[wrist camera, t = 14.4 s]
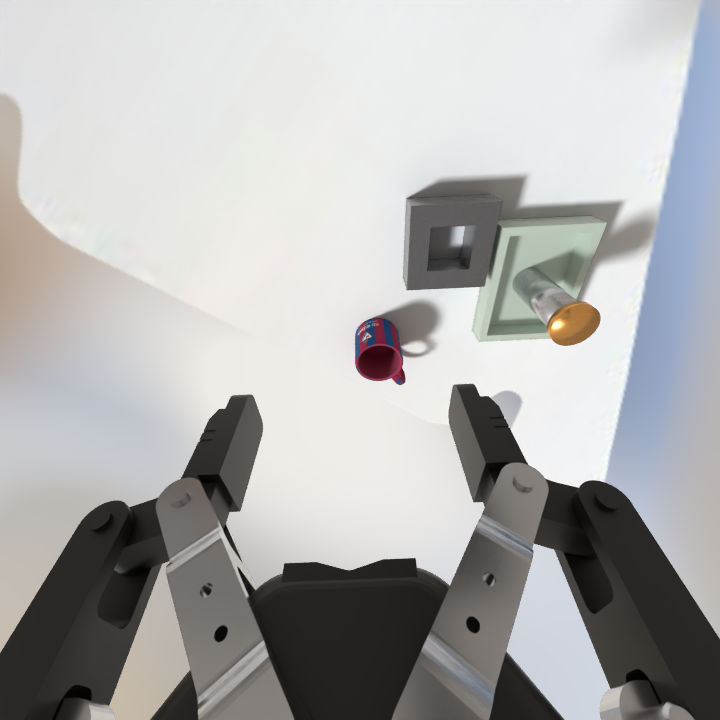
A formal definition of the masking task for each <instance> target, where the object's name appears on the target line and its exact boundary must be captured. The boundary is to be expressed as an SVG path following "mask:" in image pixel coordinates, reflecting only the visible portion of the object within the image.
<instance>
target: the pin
mask: <svg viewBox="0 0 720 720" xmlns="http://www.w3.org/2000/svg"><path fill="white" fill-rule="evenodd" d="M512 287H513V290H514V291H515V292H516V294H517V295H518V296H519V297H520V298H521V299H522V300H523V301H524V302H525V303H526V304H527V305H528V307H529V308H530V309H531V310H532V311H533V312H534V313H535V314H536V315H537V316H538V317H539V318H540V320H541V321H542V322H543V323H544V324H545V325H546V326H547V327H546V330H547V333H548V335H549V337H550V338H551V339H552V340H553V341H554V342H555V343H557V344H559V345H563V346H569V345H574V344H577V343H580V342H582V341H584V340H586V339H587V338H588V337H590V336H591V335H592V334H593V333H594V332H595V331H596V329H597V328H598V326H599V323H600V313H599V312H598V310H597V309H595V308H594V307H593V306H592V305H590V304H589V303H587V302H582V301H577V300H576V299H575V298H573V297H572V296H571V295H570V294H568V293H567V292H566V291H565V290H564V289H562V288H561V287H560V286H559V285H558V284H556V283H555V282H554V281H553V280H551V279H550V278H549V277H548V276H547V275H545V274H544V273H543V272H542V271H540V270H539V269H538V268H535V267H529V268H525V269H523V270H522V271H520V272H519V273H518V274H517V275H516V276H515V278H514V280H513V283H512Z"/></svg>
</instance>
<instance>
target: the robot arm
mask: <svg viewBox="0 0 720 720" xmlns="http://www.w3.org/2000/svg"><path fill="white" fill-rule="evenodd" d="M449 424H450V428H451V431H452V434H453V437H454V441H455V444H456V447H457V450H458V454H459V457H460V460H461V463H462V467H463V470H464V473H465V476H466V480H467V483H468V486H469V489H470V493H471V496H472V499H473V502H483V503H484V506H485V509H484V511H483V513H482V516H481V518H480V520H479V521H478V523H477V525H476V528H475V530H474V532H473V534H472V537H471V540H470V541H469V544H468V546H467V548H466V551H465V553H464V555H463V557H462V560H461V562H460V564H459V567H458V569H457V571H456V573H455V576H454V578H453V580H452V583H451V585H450V586H449V585H448V584H447V583H446V582H445V581H443V580H442V579H441V578H439V577H438V576H436V575H434V574H432V573H430V572H428V571H426V570H423V569H420V568H417V567H416V559H415V558H410V559H384V560H380V561H377V562H374V563H371V564H369V565H366V566H363V567H360V568H357V569H354V570H344V569H340V568H336V567H332V566H329V565H325V564H321V563H317V562H310V563H285V564H284V569H283V574H280V575H277V576H275V577H273V578H271V579H270V580H268V581H267V582H265V583H264V584H263V585H261V586H260V587H259V588H257V586H256V584H255V582H254V580H253V578H252V577H251V575H250V573H249V571H248V569H247V567H246V565H245V563H244V561H243V558H242V556H241V554H240V552H239V549H238V547H237V545H236V543H235V540H234V538H233V536H232V534H231V531H230V529H229V527H228V525H227V523H226V521H227V518H228V515H229V512H237V511H240V510H241V507H242V503H243V499H244V496H245V493H246V489H247V486H248V482H249V479H250V475H251V472H252V468H253V465H254V461H255V457H256V454H257V451H258V447H259V444H260V440H261V437H262V432H263V423H262V419H261V416H260V413H259V410H258V408H257V405H256V402H255V399H254V397H253V395H234V396H231V398H230V400H229V402H228V404H227V407H226V409H219V410H218V411H217V412H216V413H215V414H214V415H213V416H212V417H211V418H210V419H209V421H208V423H207V425H206V427H205V430H204V433H203V434H202V436H201V438H200V442H198V444H197V446H196V449H195V451H194V453H193V455H192V457H191V459H190V461H189V463H188V465H187V467H186V469H185V471H184V474H183V476H182V477H181V479H180V480H177V481H175V482H173V483H172V484H170V485H169V486H168V487H167V488H166V489H165V490H164V491H163V492H162V493H161V494H160V496H159V497H158V498H156V499H153V500H150V501H147V502H144V503H141V504H138V505H135V506H132V507H128V506H127V505H126V504H125V503H124V502H122V501H110V502H107V503H104V504H102V505H100V506H98V507H97V508H95V509H94V510H92V511H91V512H90V513H89V514H88V515H87V516H86V517H85V518H84V519H83V520H82V521H81V523H80V524H79V526H78V527H77V529H76V530H75V532H74V534H73V535H72V537H71V539H70V540H69V542H68V544H67V545H66V547H65V548H64V550H63V552H62V554H61V555H60V557H59V558H58V560H57V562H56V563H55V565H54V566H53V568H52V570H51V571H50V573H49V575H48V576H47V578H46V580H45V581H44V583H43V584H42V586H41V588H40V589H39V591H38V592H37V594H36V596H35V597H34V599H33V601H32V602H31V604H30V606H29V607H28V609H27V611H26V612H25V614H24V615H23V617H22V619H21V620H20V622H19V623H18V625H17V627H16V629H15V630H14V632H13V633H12V635H11V636H10V638H9V640H8V641H7V643H6V645H5V646H4V648H3V649H2V651H1V653H0V720H115V715H114V712H113V710H112V709H111V708H110V707H109V704H110V702H111V699H112V696H113V694H114V691H115V688H116V686H117V683H118V680H119V678H120V675H121V672H122V669H123V667H124V664H125V662H126V659H127V656H128V654H129V651H130V648H131V646H132V643H133V640H134V638H135V635H136V632H137V629H138V627H139V624H140V622H141V619H142V616H143V613H144V611H145V608H146V606H147V603H148V600H149V598H150V595H151V592H152V590H153V587H154V584H155V581H156V579H157V576H158V573H159V571H160V568H161V565H162V563H165V562H168V561H170V564H168V565H167V566H166V575H167V579H168V583H169V587H170V591H171V595H172V599H173V603H174V607H175V611H176V615H177V618H178V622H179V626H180V630H181V634H182V638H183V642H184V646H185V650H186V654H187V658H188V662H189V665H190V671H189V672H188V673H187V674H186V676H185V677H184V678H183V679H182V681H181V682H180V683H179V684H178V686H177V687H176V688H175V689H174V691H173V692H172V693H171V695H170V696H169V697H168V698H167V699H166V701H165V702H164V703H163V705H162V706H161V707H160V708H159V709H158V711H157V712H156V713H155V714H154V716H153V717H152V718H151V719H150V720H564V719H563V718H562V716H561V715H560V714H559V713H558V712H557V711H556V709H555V708H554V707H553V706H552V705H551V703H550V702H549V701H548V700H547V699H546V698H545V696H544V695H543V694H542V693H541V692H540V690H539V689H538V688H537V687H536V686H535V685H534V683H533V682H532V681H531V680H530V679H529V677H528V676H527V675H526V674H525V673H524V672H523V670H521V668H520V667H519V666H518V664H517V663H516V662H515V661H514V660H513V659H512V657H511V656H510V655H509V654H508V653H507V652H506V649H507V646H508V642H509V639H510V635H511V632H512V629H513V625H514V621H515V618H516V615H517V611H518V607H519V604H520V601H521V597H522V594H523V590H524V587H525V583H526V580H527V576H528V573H529V569H530V566H531V562H532V558H533V550H532V547H533V543H534V544H538V545H541V546H544V547H548V548H551V549H554V550H555V552H556V554H557V557H558V560H559V562H560V565H561V567H562V569H563V572H564V574H565V577H566V579H567V582H568V584H569V587H570V589H571V592H572V594H573V596H574V599H575V602H576V604H577V607H578V609H579V612H580V614H581V616H582V619H583V622H584V624H585V626H586V629H587V631H588V634H589V636H590V639H591V641H592V644H593V646H594V649H595V651H596V654H597V656H598V659H599V661H600V663H601V666H602V669H603V671H604V673H605V676H606V678H607V681H608V683H609V686H610V688H611V689H610V690H608V691H607V692H605V694H604V695H603V696H602V699H601V702H600V717H601V720H720V639H719V637H718V636H717V634H716V633H715V631H714V630H713V628H712V626H711V625H710V623H709V622H708V620H707V619H706V617H705V616H704V614H703V613H702V611H701V610H700V608H699V606H698V605H697V604H696V602H695V600H694V599H693V597H692V596H691V594H690V593H689V591H688V589H687V588H686V586H685V585H684V584H683V582H682V580H681V579H680V577H679V576H678V574H677V573H676V571H675V569H674V568H673V566H672V565H671V564H670V562H669V560H668V559H667V557H666V556H665V554H664V553H663V551H662V549H661V548H660V546H659V545H658V543H657V542H656V540H655V539H654V537H653V536H652V534H651V533H650V531H649V529H648V528H647V527H646V525H645V523H644V522H643V520H642V519H641V517H640V516H639V514H638V512H637V511H636V509H635V508H634V506H633V505H632V503H631V502H630V500H629V499H628V498H627V497H626V496H625V495H624V494H623V493H622V492H621V491H619V490H618V489H617V488H615V487H613V486H612V485H609V484H607V483H604V482H601V481H594V480H593V481H586V482H584V483H583V484H582V485H581V486H580V487H579V488H577V487H573V486H568V485H564V484H560V483H556V482H553V481H550V480H547V479H545V478H544V477H543V475H542V474H541V473H540V472H539V471H537V470H536V469H535V468H533V467H531V466H529V465H528V463H527V462H526V460H525V458H524V456H523V454H522V452H521V450H520V448H519V446H518V444H517V442H516V440H515V438H514V436H513V434H512V432H511V430H510V428H509V427H508V424H507V422H506V420H505V419H504V416H503V414H502V412H501V410H500V408H499V406H498V405H497V404H496V403H495V402H494V401H493V400H492V399H491V398H490V397H489V396H484V397H480V395H479V393H478V391H477V389H476V387H475V385H474V384H459V385H454V386H453V389H452V395H451V401H450V407H449Z"/></svg>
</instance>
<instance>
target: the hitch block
mask: <svg viewBox="0 0 720 720" xmlns="http://www.w3.org/2000/svg"><path fill="white" fill-rule="evenodd" d="M501 206H502V201H501V200H499V199H498V198H496V197H494V196H492V195H491V194H484V195H464V196H445V197H425V198H406V216H405V241H404V266H403V279H404V283H405V286H406V289H407V290H422V289H443V288H464V287H485V283H486V278H487V273H488V269H489V264H490V259H491V254H492V249H493V244H494V239H495V235H496V230H497V225H498V220H499V215H500V210H501ZM453 226H465V231H464V238H463V245H462V251H461V258H451V259H430V260H428V254H429V243H430V231H431V228H433V227H453Z"/></svg>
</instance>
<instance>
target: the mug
mask: <svg viewBox="0 0 720 720" xmlns="http://www.w3.org/2000/svg"><path fill="white" fill-rule="evenodd" d="M355 364H356V369H357V370H358V372H359V373H360V374H361V375H362V376H363V377H365V378H367V379H369V380H373V381H383V380H387V379H390V378H392V379H393V380H394V381H395V382H396V383H397V384H398V385H402V384H404V383H405V374H404V371H403V369H402V365H403V357H402V352H401V347H400V342H399V337H398V332H397V329H396V327H395V326H394V325H393V324H392V323H391V322H389V321H387V320H385V319H379V318H375V319H370V320H367V321H365V322H364V323H362V324H361V325H360V326H359V327H358V329H357V331H356V335H355ZM397 373H398V374H397Z"/></svg>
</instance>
